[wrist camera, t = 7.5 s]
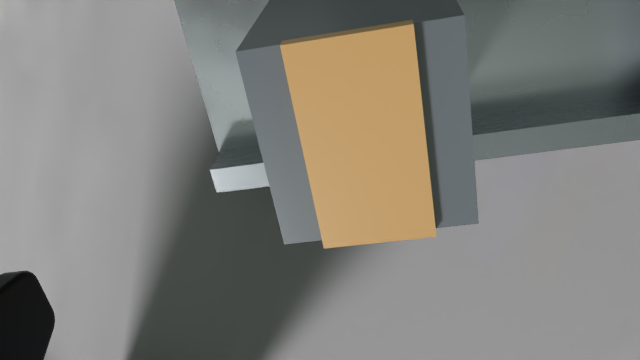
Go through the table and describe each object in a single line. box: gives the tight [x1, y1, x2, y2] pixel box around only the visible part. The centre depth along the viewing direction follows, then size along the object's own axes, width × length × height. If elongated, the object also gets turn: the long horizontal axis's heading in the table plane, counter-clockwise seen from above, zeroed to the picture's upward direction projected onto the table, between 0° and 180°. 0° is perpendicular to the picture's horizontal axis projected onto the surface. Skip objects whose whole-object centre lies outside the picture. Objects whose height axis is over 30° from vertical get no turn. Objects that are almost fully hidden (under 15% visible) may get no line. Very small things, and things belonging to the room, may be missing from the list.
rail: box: [174, 0, 640, 193], centre depth 17 cm, size 14×6×4 cm, turn 101°
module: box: [236, 0, 478, 249], centre depth 14 cm, size 4×4×6 cm
